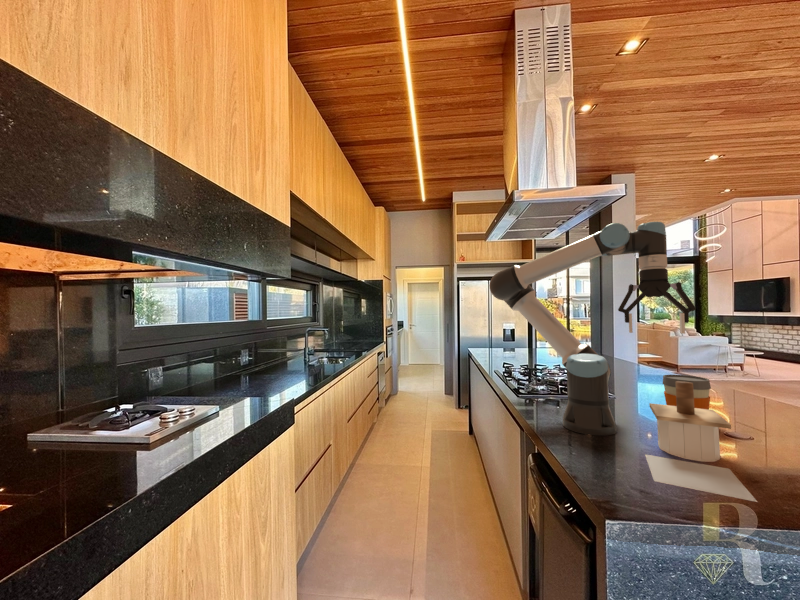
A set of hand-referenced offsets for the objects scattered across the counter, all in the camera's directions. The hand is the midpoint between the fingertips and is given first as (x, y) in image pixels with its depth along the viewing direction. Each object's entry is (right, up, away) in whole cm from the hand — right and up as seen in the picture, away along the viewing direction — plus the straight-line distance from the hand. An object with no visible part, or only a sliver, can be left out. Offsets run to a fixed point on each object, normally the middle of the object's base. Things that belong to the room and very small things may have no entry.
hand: (655, 333), depth 108 cm
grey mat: (-18, -29, -34) cm, 48 cm away
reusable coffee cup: (+14, -31, +4) cm, 34 cm away
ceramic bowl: (-8, -30, -21) cm, 37 cm away
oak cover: (-8, -20, -21) cm, 30 cm away
